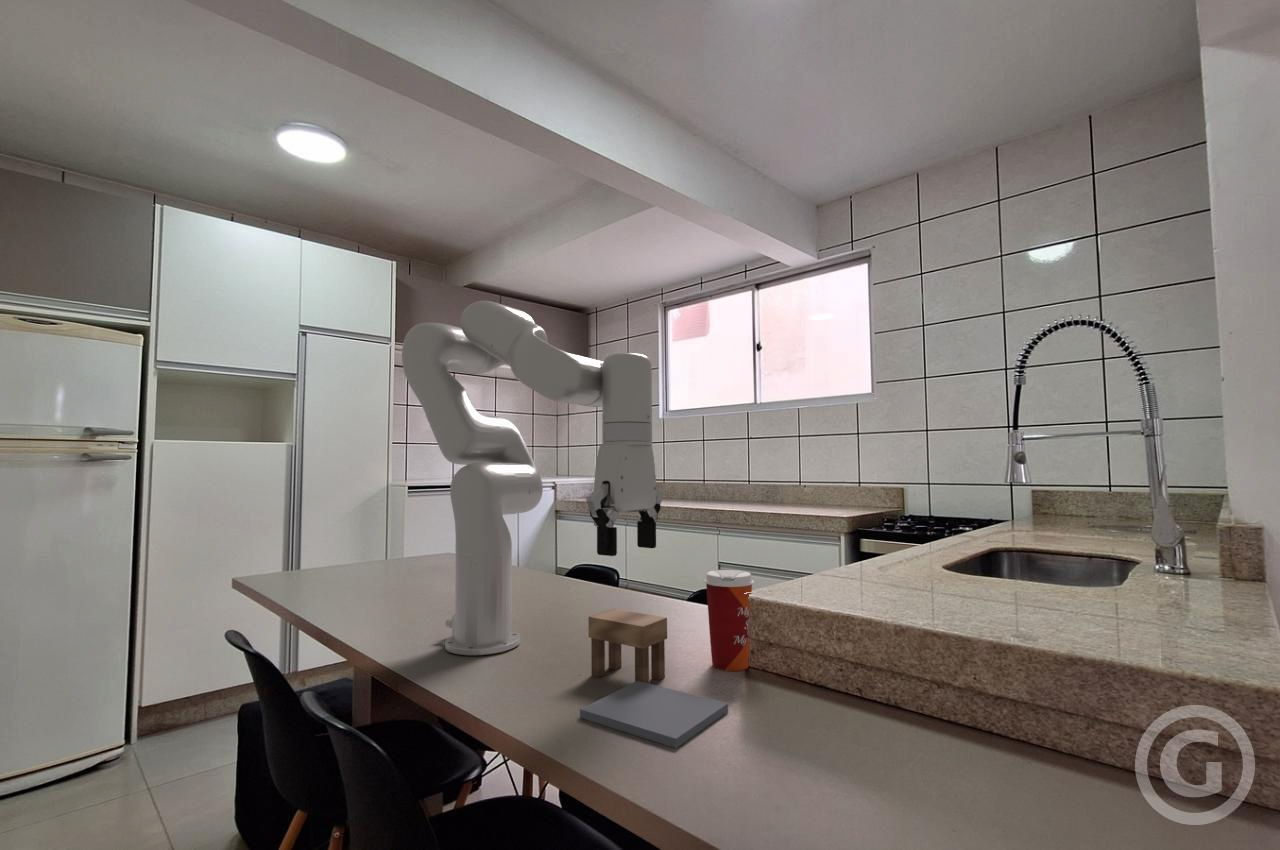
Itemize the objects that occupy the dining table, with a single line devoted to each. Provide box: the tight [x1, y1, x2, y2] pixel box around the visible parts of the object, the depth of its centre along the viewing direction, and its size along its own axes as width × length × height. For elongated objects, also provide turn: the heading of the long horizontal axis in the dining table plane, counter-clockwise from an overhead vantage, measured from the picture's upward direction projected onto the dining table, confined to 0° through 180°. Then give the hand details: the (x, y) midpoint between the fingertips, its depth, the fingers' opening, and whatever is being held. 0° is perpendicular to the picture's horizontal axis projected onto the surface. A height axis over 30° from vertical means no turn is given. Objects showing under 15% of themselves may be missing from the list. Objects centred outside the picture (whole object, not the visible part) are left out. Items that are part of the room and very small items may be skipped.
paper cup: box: [703, 569, 755, 672], centre depth 93 cm, size 8×8×14 cm
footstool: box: [588, 608, 668, 684], centre depth 88 cm, size 10×6×8 cm, turn 54°
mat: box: [579, 681, 729, 749], centre depth 74 cm, size 14×12×1 cm
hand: (627, 551), depth 89 cm, fingers open, 9 cm apart
